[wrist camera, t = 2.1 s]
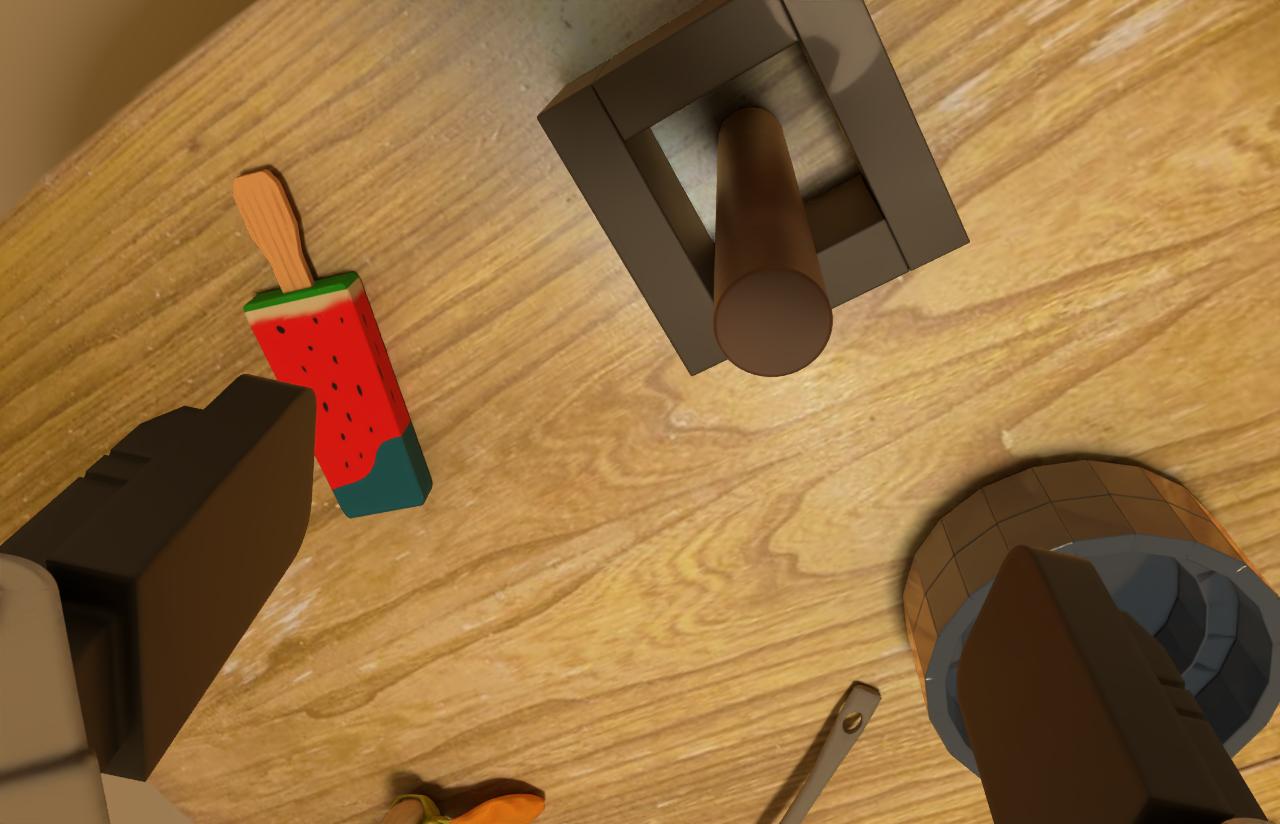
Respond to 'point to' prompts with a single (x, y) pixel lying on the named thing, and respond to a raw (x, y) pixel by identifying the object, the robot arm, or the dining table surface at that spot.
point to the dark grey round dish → (1132, 573)
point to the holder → (838, 220)
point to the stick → (764, 254)
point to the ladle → (833, 751)
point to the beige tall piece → (494, 820)
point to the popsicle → (332, 363)
